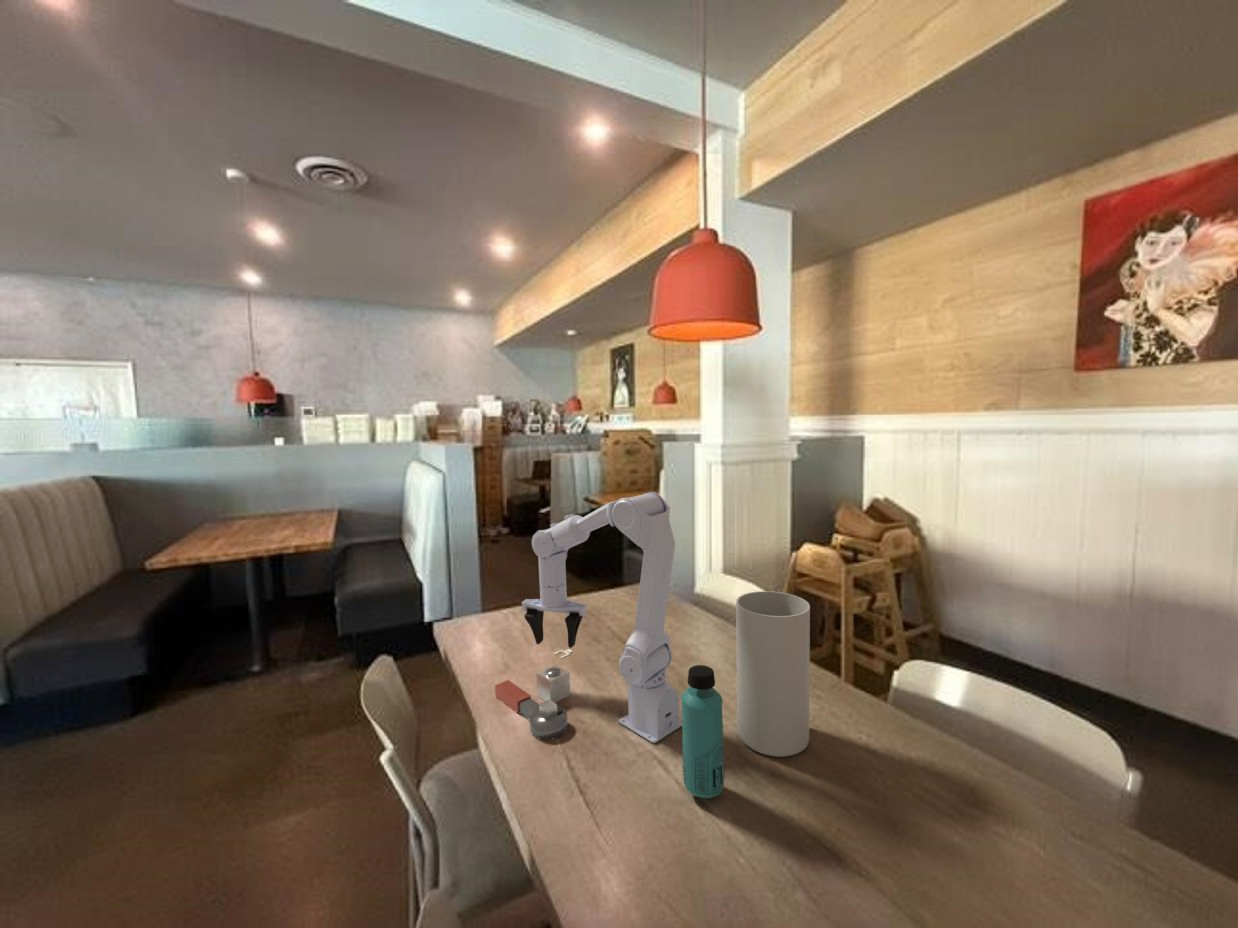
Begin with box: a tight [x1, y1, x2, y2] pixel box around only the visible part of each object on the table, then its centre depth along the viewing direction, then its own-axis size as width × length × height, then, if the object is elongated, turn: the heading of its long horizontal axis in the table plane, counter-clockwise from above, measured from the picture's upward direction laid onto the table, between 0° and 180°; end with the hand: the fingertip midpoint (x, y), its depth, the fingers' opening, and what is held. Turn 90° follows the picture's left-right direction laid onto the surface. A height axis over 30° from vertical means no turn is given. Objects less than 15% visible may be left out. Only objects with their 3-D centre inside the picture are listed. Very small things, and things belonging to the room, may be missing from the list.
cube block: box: [535, 664, 571, 703], centre depth 110 cm, size 5×5×5 cm
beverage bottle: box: [680, 664, 726, 799], centre depth 80 cm, size 6×7×20 cm
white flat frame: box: [553, 648, 574, 659], centre depth 129 cm, size 25×17×1 cm
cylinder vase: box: [735, 590, 811, 758], centre depth 93 cm, size 12×12×25 cm
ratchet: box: [494, 679, 568, 740], centre depth 103 cm, size 21×7×5 cm, turn 43°
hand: (555, 643), depth 113 cm, fingers open, 7 cm apart
